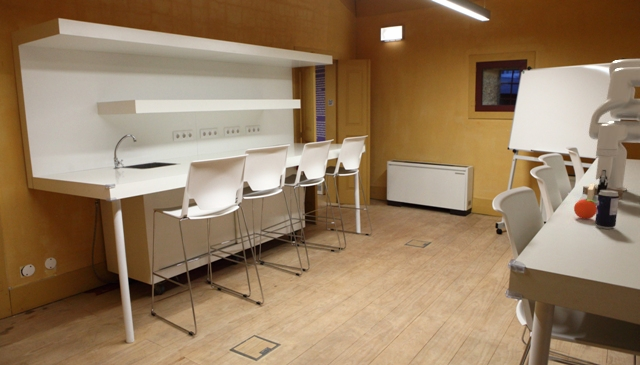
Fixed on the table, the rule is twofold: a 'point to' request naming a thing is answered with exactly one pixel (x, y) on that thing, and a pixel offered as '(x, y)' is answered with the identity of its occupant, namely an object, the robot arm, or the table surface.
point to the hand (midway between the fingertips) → (602, 192)
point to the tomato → (585, 208)
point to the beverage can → (607, 209)
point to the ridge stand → (590, 194)
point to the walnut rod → (585, 189)
